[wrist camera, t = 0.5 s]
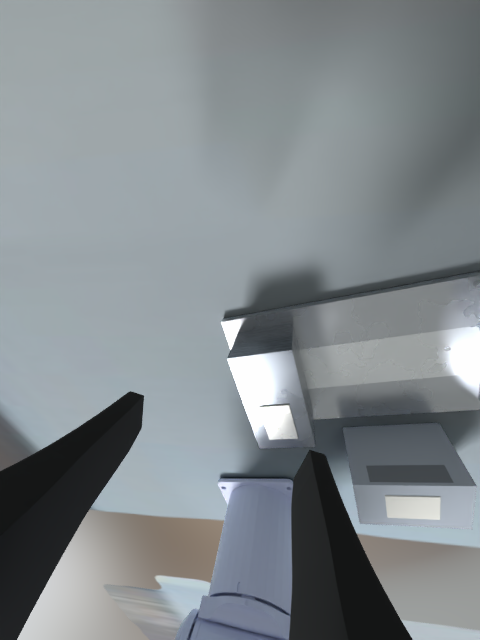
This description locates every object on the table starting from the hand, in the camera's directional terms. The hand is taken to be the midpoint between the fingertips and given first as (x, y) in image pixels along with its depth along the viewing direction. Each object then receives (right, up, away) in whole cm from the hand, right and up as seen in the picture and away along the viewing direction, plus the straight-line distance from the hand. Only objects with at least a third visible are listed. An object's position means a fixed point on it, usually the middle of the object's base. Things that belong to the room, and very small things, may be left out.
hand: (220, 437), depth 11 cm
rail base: (+11, +2, +7) cm, 13 cm away
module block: (+13, -5, +11) cm, 18 cm away
